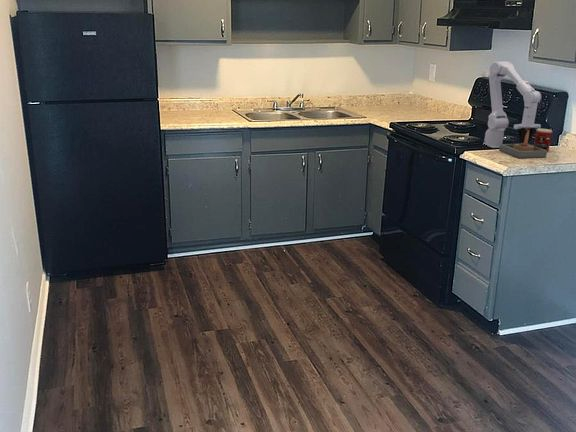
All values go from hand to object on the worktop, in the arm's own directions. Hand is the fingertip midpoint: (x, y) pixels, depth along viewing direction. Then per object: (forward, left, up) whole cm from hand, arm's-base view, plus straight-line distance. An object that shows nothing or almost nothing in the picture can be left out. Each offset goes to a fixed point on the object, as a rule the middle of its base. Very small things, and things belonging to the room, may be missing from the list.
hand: (524, 142), depth 297 cm
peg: (0, 0, -2) cm, 2 cm away
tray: (0, 0, -6) cm, 6 cm away
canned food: (-6, +16, -6) cm, 18 cm away
